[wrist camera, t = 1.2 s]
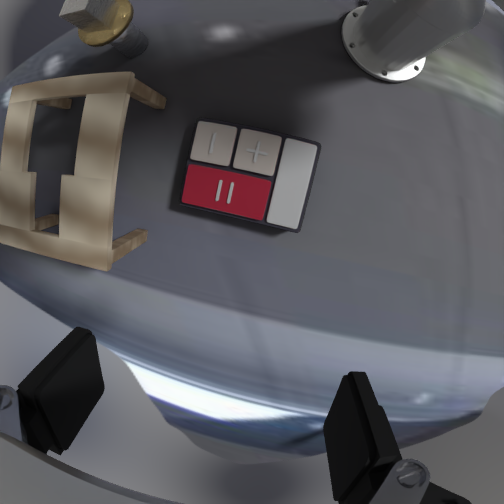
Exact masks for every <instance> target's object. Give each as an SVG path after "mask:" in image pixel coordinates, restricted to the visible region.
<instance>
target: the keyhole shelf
mask: <svg viewBox="0 0 504 504" xmlns="http://www.w3.org/2000/svg"><path fill="white" fill-rule="evenodd" d="M134 76H135V74H134V73H132V72H110V73H96V74H86V75H76V76H68V77H61V78H54V79H48V80H42V81H37V82H31V83H26V84H22V85H17V86H13V87H12V92H11V96H10V101H9V106H8V111H7V117H6V123H5V129H4V136H3V144H2V153H1V164H0V243H2V244H6V245H9V246H12V247H16V248H19V249H23V250H26V251H30V252H33V253H37V254H41V255H44V256H48V257H52V258H56V259H59V260H63V261H67V262H71V263H75V264H79V265H83V266H87V267H91V268H95V269H99V270H103V271H108V270H110V269H111V264H113V263H114V262H115V261H117V260H118V259H120V258H121V257H123V256H124V255H126V254H127V253H129V252H130V251H132V250H133V249H135V248H137V247H138V246H140V245H141V244H143V243H144V242H146V241H147V231H148V230H143V229H136V230H134V231H132V232H130V233H128V234H126V235H124V236H122V237H120V238H119V239H117V240H115V241H113V242H112V231H113V215H114V202H115V191H116V181H117V172H118V164H119V157H120V149H121V143H122V136H123V130H124V125H125V119H126V114H127V108H128V104H129V99H130V97H131V98H133V99H136V100H138V101H140V102H142V103H144V104H146V105H148V106H150V107H152V108H154V109H165V104H166V99H167V98H165V97H164V96H162V95H161V94H159V93H158V92H156V91H154V90H153V89H151V88H150V87H148V86H147V85H145V84H144V83H142V82H140V81H139V80H137V79H136V78H134ZM83 96H86V99H85V104H84V109H83V115H82V120H81V126H80V132H79V139H78V146H77V153H76V162H75V171H74V175H62V178H61V192H60V214H59V215H57V214H49V215H46V216H43V217H39V218H36V219H35V190H36V174H37V172H27V170H28V159H29V149H30V141H31V134H32V127H33V121H34V115H35V110H36V105H37V104H40V105H45V106H50V107H55V108H60V109H70V108H71V103H72V99H69V97H83ZM58 224H59V234H54V233H49V232H45V231H41V230H44V229H46V228H49V227H52V226H55V225H58Z"/></svg>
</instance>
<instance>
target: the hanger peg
mask: <svg viewBox="0 0 504 504" xmlns="http://www.w3.org/2000/svg"><path fill="white" fill-rule="evenodd" d="M59 16H60V17H62V18H63V19H65V20H67V21H68V22H70V23H72V24H73V25H75V26H76V27H78V28H79V29H78V34H79V37H80V39H81V40H82V41H83V42H84V43H86V44H87V45H89V46H93V47H99V46H104V45H106V44H110V45H112V46H113V47H114V48H116V49H117V50H119V51H120V52H121V53H123V54H124V55H126V56H127V57H136V56H139V55H140V54H142V53H143V52H144V51H145V50H146V48H147V46H148V38H147V37H146V36H145V35H144V34H143V33H142V32H141V31H140V30H139V29H138V28H137V27H136V26H135V25H134V24H133V23H132V22H131V20H132V18H133V6H132V5H131V3H130V2H129V1H128V0H65V3H64V5H63V7H62V10H61V12H60V14H59Z"/></svg>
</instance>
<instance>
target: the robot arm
mask: <svg viewBox="0 0 504 504" xmlns="http://www.w3.org/2000/svg"><path fill="white" fill-rule="evenodd" d="M493 1H494V2H495V4H496V5H498V6H499V7H500V8H501V9H502V10H503V11H504V0H493ZM485 5H486V0H371V1H370V2H369V4H368V5H365V6H361V7H357V8H355V9H354V10H352V11H351V12H350V13H349V14H348V15H347V16H346V18H345V20H344V22H343V24H342V30H341V35H342V41H343V44H344V47H345V49H346V51H347V53H348V54H349V56H350V57H351V58H352V60H353V61H354V62H355V63H356V64H357V65H358V66H359V67H360V68H361V69H363V70H364V71H365V72H367V73H368V74H370V75H372V76H374V77H375V78H378V79H381V80H383V81H388V82H398V83H399V82H405V81H408V80H410V79H412V78H414V77H415V76H417V75H418V74H419V73H420V72H421V71H422V69H423V67H424V64H425V60H426V56H428V55H429V54H431V53H432V52H434V51H436V50H437V49H439V48H441V47H442V46H444V45H446V44H447V43H449V42H451V41H452V40H454V39H456V38H457V37H459V36H461V35H463V34H464V33H466V32H468V31H469V30H471V29H473V28H474V27H475V26H477V25H478V24H479V22H480V21H481V19H482V17H483V15H484V11H485ZM350 46H351V47H352V48H351V47H350ZM381 73H382V74H383V75H382V74H381ZM18 388H19V389H18V390H17V391H15V390H14V389H13V388H12V387H10V386H7V385H0V504H183V503H178V502H174V501H170V500H166V499H162V498H158V497H154V496H150V495H147V494H143V493H140V492H137V491H134V490H130V489H127V488H124V487H121V486H118V485H116V484H113V483H110V482H107V481H104V480H102V479H99V478H97V477H94V476H92V475H89V474H87V473H85V472H82V471H80V470H78V469H76V468H73V467H71V466H69V465H67V464H65V463H63V462H61V461H58V460H56V459H54V458H52V457H50V456H48V455H47V451H48V450H51V451H53V452H55V453H57V454H59V455H61V454H62V452H63V451H64V450H67V449H68V448H69V446H70V445H71V443H72V442H73V440H74V439H75V437H76V435H77V434H78V432H79V431H80V429H81V427H82V426H83V424H84V422H85V421H86V419H87V418H88V416H89V414H90V413H91V411H92V410H93V408H94V407H95V405H96V404H97V402H98V401H99V399H100V398H101V396H102V394H103V392H104V381H103V377H102V372H101V367H100V362H99V356H98V351H97V345H96V339H95V336H94V335H92V332H91V331H90V330H88V329H84V328H81V327H76V328H75V329H74V330H73V331H72V332H70V333H69V335H67V336H66V338H64V339H63V340H62V341H61V342H60V343H59V344H58V345H57V346H56V347H55V348H54V349H53V350H52V351H51V352H50V353H49V354H48V355H47V356H46V357H45V358H44V359H43V360H42V361H41V362H40V363H39V364H38V365H37V366H36V367H35V368H34V369H33V370H32V371H31V373H29V375H28V376H27V377H26V378H25V379H24V380H23V381H22V382H21V383H20V384H19V385H18ZM323 430H324V437H325V443H326V450H327V456H328V463H329V470H330V477H331V484H332V491H333V498H334V500H335V501H338V502H339V504H471V503H470V501H469V500H467V499H465V498H463V497H461V496H459V495H457V494H454V493H452V492H450V491H448V490H446V489H444V488H441V487H439V486H437V485H435V484H433V483H431V482H430V472H429V470H428V468H427V467H426V466H425V465H424V464H423V463H422V462H420V461H418V460H415V459H402V457H401V454H400V451H399V448H398V445H397V443H396V440H395V437H394V435H393V432H392V429H391V427H390V424H389V422H388V419H387V416H386V414H385V411H384V409H383V407H382V406H380V405H378V402H377V400H376V397H375V395H374V392H373V390H372V387H371V384H370V382H369V379H368V377H367V375H366V373H365V372H352V371H351V372H349V373H348V375H344V376H343V378H342V381H341V383H340V386H339V388H338V391H337V394H336V396H335V399H334V401H333V403H332V406H331V408H330V411H329V413H328V415H327V418H326V420H325V422H324V427H323Z"/></svg>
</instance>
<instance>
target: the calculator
mask: <svg viewBox="0 0 504 504" xmlns="http://www.w3.org/2000/svg"><path fill="white" fill-rule="evenodd" d="M320 150H321V144H320V143H318V142H315V141H311V140H308V139H304V138H300V137H296V136H292V135H288V134H283V133H279V132H275V131H270V130H266V129H261V128H256V127H251V126H246V125H241V124H236V123H230V122H225V121H219V120H213V119H206V118H198V119H197V120H196V123H195V127H194V131H193V136H192V140H191V145H190V149H189V154H188V158H187V163H186V168H185V173H184V178H183V183H182V188H181V193H180V199H179V204H180V205H181V206H185V207H190V208H194V209H199V210H203V211H207V212H212V213H216V214H220V215H225V216H229V217H233V218H237V219H242V220H246V221H250V222H254V223H258V224H262V225H266V226H271V227H275V228H279V229H283V230H287V231H291V232H295V233H298V232H300V230H301V226H302V223H303V219H304V215H305V211H306V207H307V203H308V199H309V195H310V191H311V187H312V183H313V179H314V175H315V171H316V167H317V163H318V159H319V154H320Z"/></svg>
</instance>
